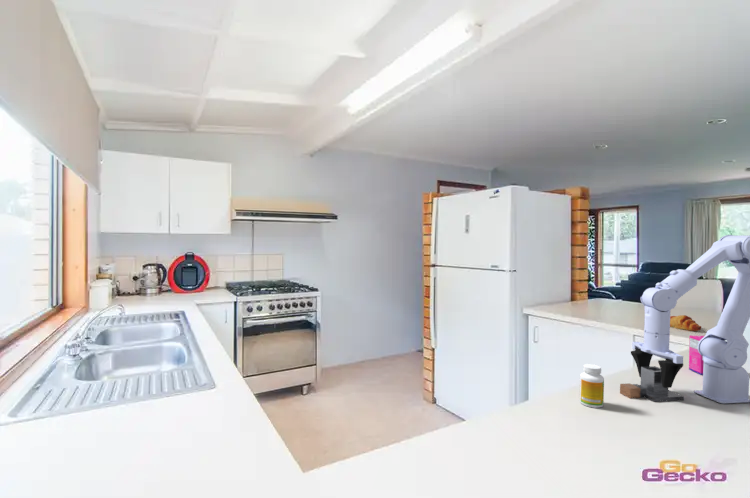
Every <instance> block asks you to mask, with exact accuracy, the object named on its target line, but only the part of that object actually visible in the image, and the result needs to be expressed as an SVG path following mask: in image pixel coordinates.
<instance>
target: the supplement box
mask: <svg viewBox="0 0 750 498" xmlns="http://www.w3.org/2000/svg"><path fill="white" fill-rule="evenodd" d="M704 336H705V335H689V340H688V341H689V345H688V347H689V348H688V349H689V350H688V353H689V354H688V370H689V371H692V372H694V373H696V374H698V375H700V376H703V364H704V361H703V360H702V359H703V356H702V355H700V353H699V352H698V348H697V347H698V343H699V341H700V340H701V339H702V338H703V337H704Z"/></svg>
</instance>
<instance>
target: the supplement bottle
mask: <svg viewBox="0 0 750 498" xmlns="http://www.w3.org/2000/svg"><path fill="white" fill-rule="evenodd" d="M582 370H583V372H581V373H580V375H579V397H578V398H579V400H578V401H579V403H580V404H581V405H583V406H586V407H587V408H588V407H589V408H594V409H599V408H600V409H601V408H603V406H604V398H605V397H604V394H605V393H604V392H605V390H604V389H605V378H604V376H603V375H602V367H601V365H596V364H594V363H584V364H583V369H582Z"/></svg>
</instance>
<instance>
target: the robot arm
mask: <svg viewBox="0 0 750 498" xmlns="http://www.w3.org/2000/svg"><path fill="white" fill-rule="evenodd" d="M723 262H728V263H730V264H732V266H734V268H735V269H736V271H737V272H738V273H737V276H736V278H735V281H734V283H733V285H732V288H731V289H730V293H729V295H728V297H727V300H726V303H725V305H724V307H723V310H722V312H721V315H720V317H719V318H718V321H717V324H716V325H715V326H714V327H711V328H710V329H708V330H707V331H706V333H705V335H703V336H704V337H703V338H702V339H701V340H700V341H699V343H698V347H697V348H698V352H699V353H700V355H702V356H703V359H702V360H703V361H704V364H703V375H702V389H700V390H693V393H694V394H697V395H699V396H702V397H705V398H707V399H710V400H712V401H714V402H716V403H719V404H739V403H740V404H742V403H750V399H749V392H750V376H749V373H748V372H747V370H746V368H744V367H743V366H744V365H745V364H746V362H747V359H748V347H749V342H748V341H747V339H746V338H745V336H744V332H745V331H746V330H745V329H746V328H747V325H748V323H749V320H750V234H747V235H744V234H743V235H742V234H741V235H739V234H738V235H735V234H734V235H733V234H726V235H723V236H722V237H720V238H719V240H717V241H714V242H713V243H712V245H711V247H710V248H709V249H707V251H705V252H704V253H703V254H702V255H701V256H700V257H699V258H697V259H696V260H695V261H694V262H693V263H691V264H690V265H689V266H688V267H687V268H686V269H682V268H681V269H679V268H678V269H676V270H671V271H670V272H669V275H668V276H667V277H666V278H664V279H663V280H662V281H660V282H657V283H656V284H655V287H648V288H646V289H645V290H644V291H643V293H642V295H641V296H640V302H641V304H642V306H643V307H644V322H643V323H644V327H643V342H642V341H641V342H640V341H631V343H632V344H631V349H633V350H631V351H630V355H631V356H632V358H633V360H634V362H635V365H636V367H637V372H638V376H639V378H641V367H647V366H651V360H652V357H653V356H655V357H658V358H661V359H660V360H658V361H657V362H658V364H659V368H661V373H662V386H663V387H664V388H668V389H669V388H670V389H671V388H672V386H673V384H674V381H675V379H676V376H677V374H678V373H679V372H680V370H681V369H682V368H683V367H684V355H681V354H678V353H677V352H674V351H673V350H671V349H670V341H671V340H670V336H671V335H670V334H671V333H670V331H671V327H670V316H671V311H672V309H675V307H676V306H677V303H678V300H679V299H680V298H682V297H683V296H684V295H686V294H687V293H688V292H689V291H691V290H692V289H693V288H695V287H696V286H697V285H698V279H699V278H700V277H702V276H703V275H705V274H707V273H708V272H709V271H711V270H712V269H714V268H715V267H717V266H719V265H720V264H721V263H723Z"/></svg>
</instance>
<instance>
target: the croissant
mask: <svg viewBox="0 0 750 498" xmlns="http://www.w3.org/2000/svg"><path fill="white" fill-rule="evenodd" d="M670 328H674V329H677V330H684V331H689V332H690V331H691V332H698V331H701V329H702V326H701V325H699V324H698V323H697V322H696V321H695V320H693V318H692V317H690V316H688V315H685V314H682V315H681V314H679V315H670Z"/></svg>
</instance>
